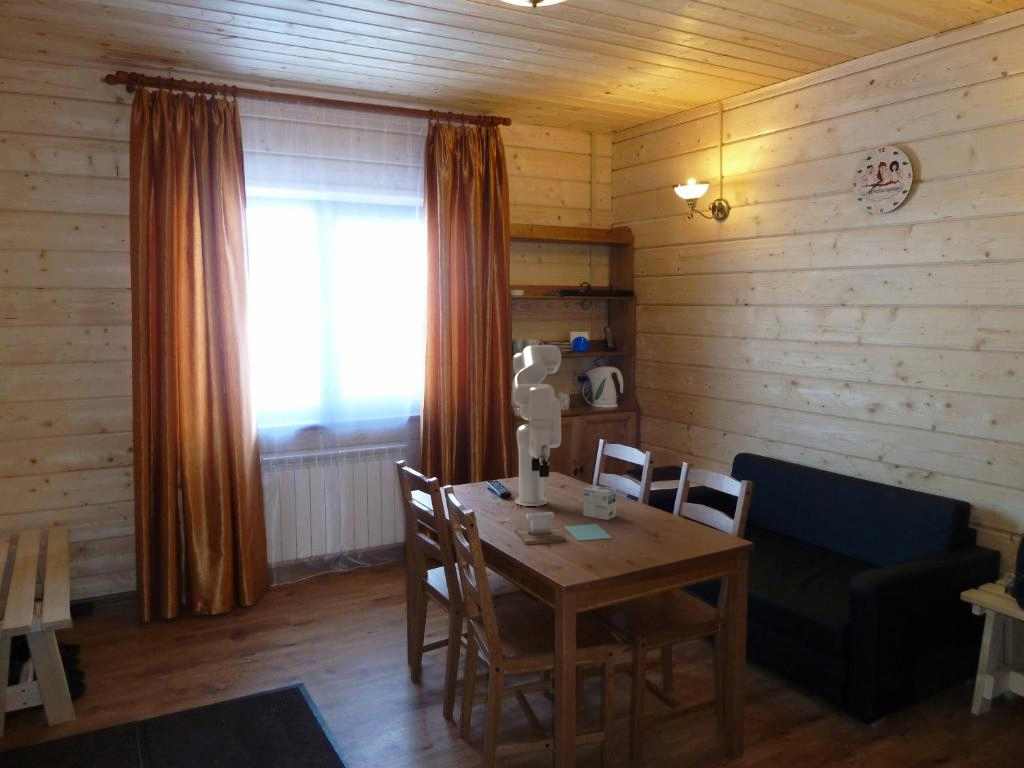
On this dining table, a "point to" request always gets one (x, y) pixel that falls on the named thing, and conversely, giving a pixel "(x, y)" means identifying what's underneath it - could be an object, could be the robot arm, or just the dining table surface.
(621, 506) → the dining table surface
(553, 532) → the walnut slot plate
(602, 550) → the dining table surface
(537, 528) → the metal T-key
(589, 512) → the light bulb box
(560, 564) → the dining table surface
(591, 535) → the teal mat
